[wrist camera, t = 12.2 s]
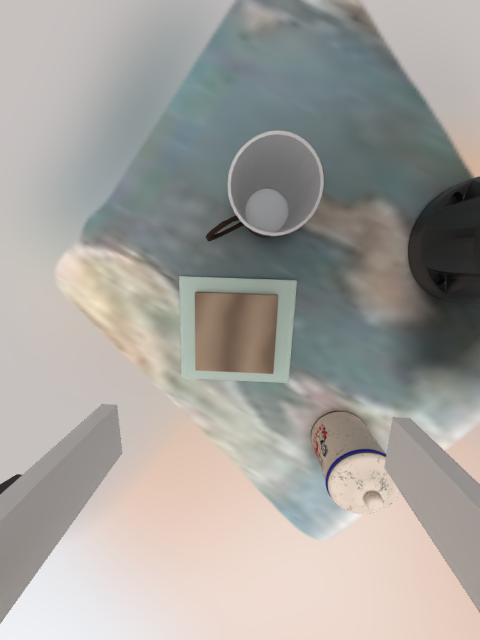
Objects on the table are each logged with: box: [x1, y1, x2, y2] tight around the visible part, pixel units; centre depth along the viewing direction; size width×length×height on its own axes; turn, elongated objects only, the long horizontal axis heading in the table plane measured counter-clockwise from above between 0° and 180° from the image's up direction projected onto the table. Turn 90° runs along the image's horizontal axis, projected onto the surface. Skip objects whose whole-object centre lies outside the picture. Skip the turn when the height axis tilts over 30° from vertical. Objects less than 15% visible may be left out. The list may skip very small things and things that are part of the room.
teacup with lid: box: [311, 412, 400, 514], centre depth 32 cm, size 12×9×12 cm
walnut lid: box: [195, 292, 279, 374], centre depth 33 cm, size 11×11×2 cm
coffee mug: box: [206, 130, 324, 241], centre depth 26 cm, size 12×9×10 cm
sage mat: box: [179, 276, 297, 383], centre depth 34 cm, size 16×15×1 cm
